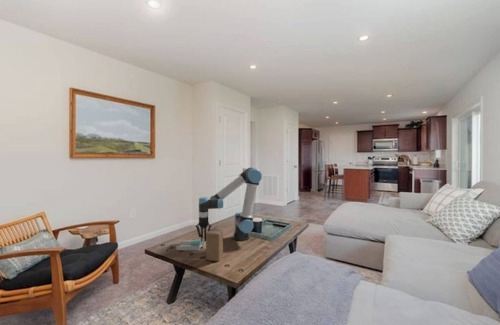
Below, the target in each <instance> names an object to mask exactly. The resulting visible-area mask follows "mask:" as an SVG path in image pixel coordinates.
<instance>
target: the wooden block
mask: <svg viewBox="0 0 500 325" xmlns="http://www.w3.org/2000/svg"><path fill="white" fill-rule="evenodd" d="M205 250H206V251H205V253H206V254H205V255H206V257H205V259H206V261H213V262H220V261H221V259H222V257H223V256H224V231H223V229H214V228H210V230H209V231H208V230H207V231H206V241H205Z"/></svg>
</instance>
